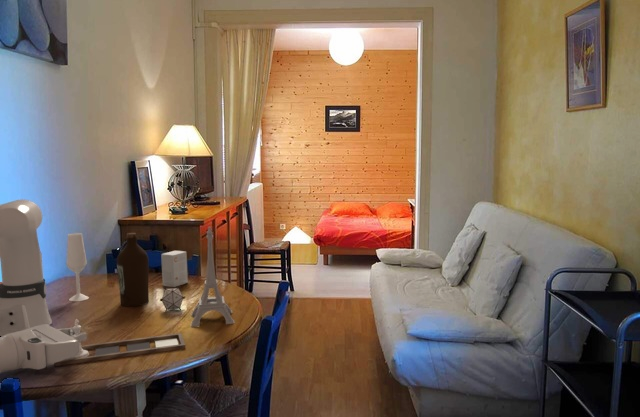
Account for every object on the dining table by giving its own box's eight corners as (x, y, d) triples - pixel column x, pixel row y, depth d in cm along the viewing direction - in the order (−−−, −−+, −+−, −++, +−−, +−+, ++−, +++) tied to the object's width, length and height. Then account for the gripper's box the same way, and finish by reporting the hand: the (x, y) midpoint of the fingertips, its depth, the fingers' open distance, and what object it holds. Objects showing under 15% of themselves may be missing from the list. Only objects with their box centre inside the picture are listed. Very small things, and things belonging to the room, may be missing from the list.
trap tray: (55, 366, 133) (55, 362, 133) (59, 351, 142) (59, 348, 142) (185, 348, 144) (185, 344, 144) (181, 336, 153) (181, 333, 153)
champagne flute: (88, 300, 191) (84, 234, 188) (68, 302, 188) (63, 236, 186) (89, 295, 197) (85, 232, 194) (69, 297, 195) (65, 233, 192)
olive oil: (147, 297, 194) (144, 230, 192) (152, 304, 185) (149, 234, 182) (117, 301, 189) (113, 232, 187) (121, 308, 180) (117, 236, 177)
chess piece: (91, 352, 142) (89, 316, 141) (84, 359, 137) (82, 322, 136) (73, 352, 142) (71, 316, 140) (65, 359, 137) (62, 322, 136)
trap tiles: (94, 358, 137) (94, 357, 137) (95, 349, 144) (95, 348, 144) (150, 351, 142) (150, 350, 142) (149, 342, 149) (149, 341, 149)
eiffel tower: (191, 314, 174) (188, 224, 171) (231, 311, 177) (229, 223, 174) (190, 327, 161) (187, 230, 158) (234, 324, 164) (232, 229, 161)
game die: (176, 321, 177) (176, 304, 171) (154, 312, 179) (153, 294, 172) (190, 303, 184) (190, 285, 177) (169, 293, 185) (168, 275, 179)
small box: (176, 281, 217) (175, 250, 216) (188, 282, 214) (187, 251, 213) (162, 285, 210) (160, 253, 209) (174, 287, 207) (172, 255, 206)
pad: (156, 350, 143) (156, 349, 143) (154, 341, 149) (154, 340, 149) (179, 347, 145) (179, 346, 145) (176, 338, 151) (176, 338, 151)
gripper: (10, 350, 136) (64, 335, 146) (41, 371, 123) (99, 354, 133) (8, 326, 135) (63, 313, 146) (39, 345, 122) (98, 330, 132)
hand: (80, 333), depth 139 cm, fingers open, 5 cm apart
